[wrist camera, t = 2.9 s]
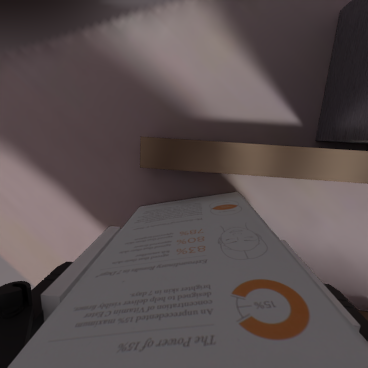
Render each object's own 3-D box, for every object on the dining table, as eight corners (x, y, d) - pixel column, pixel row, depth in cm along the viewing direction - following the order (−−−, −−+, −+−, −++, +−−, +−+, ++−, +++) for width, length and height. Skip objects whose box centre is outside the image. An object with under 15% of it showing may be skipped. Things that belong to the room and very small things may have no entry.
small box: (153, 275, 18) (45, 625, 5) (137, 205, 16) (-61, 428, 4) (249, 264, 17) (413, 637, 4) (240, 189, 16) (434, 399, 3)
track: (431, 155, 14) (468, 157, 12) (376, 332, 18) (398, 356, 16) (147, 137, 15) (140, 136, 13) (143, 309, 18) (137, 330, 16)
